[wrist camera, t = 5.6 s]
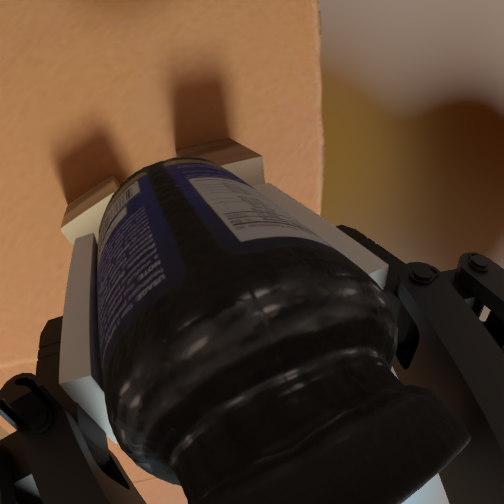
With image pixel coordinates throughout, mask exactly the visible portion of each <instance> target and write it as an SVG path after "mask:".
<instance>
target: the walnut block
mask: <svg viewBox="0 0 504 504" xmlns="http://www.w3.org/2000/svg"><path fill="white" fill-rule="evenodd" d="M176 155H177V158H179V157H183V158H186V157H190V158H203V159H206V160H210V161H212V162H214V163H216V164H218V165H219V166H221V167H223V168H225V169H227V170H228V171H230V172H231V173H233V174H234V175H236V176H237V177H239V178H240V179H242V180H243V181H244V182H246V183H247V184H249V185H250V186H256V185H260V184H264V183H265V179H264V169H263V158H262V156H261V155H259V154H258V153H256V152H254V151H252V150H250V149H248V148H247V147H245V146H243V145H241V144H239V143H237V142H235V141H234V140H232V139H230V138H229V139H225V140H220V141H216V142H211V143H207V144H203V145H198V146H194V147H190V148H186V149H182V150H178V151H176Z"/></svg>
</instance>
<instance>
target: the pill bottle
mask: <svg viewBox="0 0 504 504" xmlns="http://www.w3.org/2000/svg"><path fill="white" fill-rule="evenodd" d="M97 271H98V275H97V296H98V327H99V343H100V357H101V369H102V377H103V387H104V396H105V404H106V410H107V415H108V420H109V424H110V426H111V428H112V432H113V434H114V436H115V438H116V440H117V442H118V443H119V445H120V447H121V449H122V450H123V451H124V452H125V453H126V454H127V455H128V456H129V457H130V458H131V459H132V460H133V461H134V462H135V464H136V465H137V466H138V467H140V468H141V469H143V470H145V471H146V472H148V473H149V474H152V475H154V476H155V477H157V478H159V479H162V480H164V481H166V482H169V483H171V484H177V485H180V486H182V488H183V491H184V494H185V496H186V497H187V499H188V504H401V503H403V502H404V501H405V500H406V499H407V498H408V497H410V496H411V495H412V494H414V493H415V492H416V491H417V490H419V489H420V488H421V487H422V486H423V485H424V484H425V483H426V482H428V481H429V480H430V479H431V478H433V477H434V476H435V475H436V474H437V473H439V472H440V471H441V470H442V469H443V468H445V467H446V466H447V465H448V464H449V463H450V462H451V461H452V460H453V459H454V458H455V457H456V456H457V455H458V454H459V453H460V452H461V451H462V450H463V449H464V448H465V447H466V445H467V444H468V443H469V442H470V439H471V435H470V433H469V432H468V431H467V429H466V428H465V427H464V425H463V424H462V422H461V421H460V420H459V419H458V418H457V417H456V416H455V415H454V414H453V413H452V412H451V411H450V410H449V409H448V408H447V407H446V406H445V404H444V403H443V402H442V401H441V399H440V398H439V397H438V396H437V394H436V393H435V392H434V391H433V390H431V389H426V388H422V387H419V386H416V385H404V384H402V383H401V382H400V381H399V380H398V379H397V377H396V376H394V374H393V373H392V372H391V367H392V365H393V363H394V358H395V354H396V349H397V343H398V342H397V335H398V328H397V324H396V319H395V316H394V313H393V309H392V306H391V304H390V302H389V300H388V299H387V297H386V295H385V294H384V291H383V290H382V289H381V288H380V286H379V285H378V283H377V282H376V281H374V280H373V279H372V278H371V277H370V276H369V275H368V274H367V273H366V272H365V271H363V270H362V269H361V268H360V267H359V266H357V265H356V264H355V263H353V262H352V261H351V260H350V259H348V258H347V257H346V256H345V255H343V254H342V253H340V252H339V251H338V250H336V249H335V248H334V247H332V246H331V245H330V244H328V243H327V242H326V241H325V240H323V239H322V238H320V237H319V236H318V235H317V234H315V233H314V232H313V231H311V230H310V229H309V228H307V227H306V226H305V225H303V224H302V223H301V222H299V221H298V220H297V219H295V218H294V217H293V216H291V215H290V214H289V213H287V212H286V211H285V210H283V209H282V208H281V207H279V206H278V205H277V204H275V203H274V202H272V201H271V200H270V199H268V198H267V197H266V196H264V195H263V194H261V193H260V192H258V191H257V190H256V189H254V188H253V187H252V186H250V185H249V184H247V183H246V182H244V181H243V180H242V179H240V178H239V177H237V176H236V175H234V174H233V173H231V172H230V171H228V170H227V169H225V168H223V167H221V166H219V165H218V164H216V163H214V162H212V161H210V160H206V159H203V158H190V157H186V158H183V157H179V158H172V159H168V160H165V161H160V162H157V163H155V164H153V165H150V166H147V167H144V168H142V169H141V170H139V171H137V172H135V173H134V174H133V175H132V176H130V177H129V178H128V179H127V180H126V181H125V182H124V183H122V185H121V186H120V187H119V189H118V190H117V191H116V192H115V193H114V194H113V195H112V197H111V199H110V201H109V203H108V205H107V207H106V209H105V212H104V215H103V217H102V220H101V224H100V227H99V239H98V267H97Z"/></svg>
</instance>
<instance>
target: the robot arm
mask: <svg viewBox="0 0 504 504" xmlns="http://www.w3.org/2000/svg"><path fill="white" fill-rule="evenodd" d="M252 187H253V188H254V189H256V190H257V191H258V192H260V193H261V194H263V195H264V196H266V197H267V198H268V199H270V200H271V201H272V202H274V203H275V204H277V205H278V206H279V207H281V208H282V209H283V210H285V211H286V212H287V213H289V214H290V215H291V216H293V217H294V218H295V219H297V220H298V221H299V222H301V223H302V224H303V225H305V226H306V227H307V228H309V229H310V230H311V231H313V232H314V233H315V234H317V235H318V236H319V237H320V238H322V239H323V240H325V241H326V242H327V243H328V244H330V245H331V246H332V247H334V248H335V249H336V250H338V251H339V252H340V253H342V254H343V255H345V256H346V257H347V258H348V259H350V260H351V261H352V262H353V263H355V264H356V265H357V266H359V267H360V268H361V269H362V270H363V271H365V272H366V273H367V274H368V275H369V276H370V277H371V278H372V279H373V280H374V281H376V282H377V283H378V285H379V286H380V288H381V289H382V290H383V291H384V294H385V295H386V297H387V299H388V300H389V302H390V304H391V306H392V309H393V313H394V316H395V319H396V324H397V328H398V335H397V342H398V343H397V349H396V354H395V358H394V363H393V365H392V366H393V368H394V371H395V372H396V375H397V377H398V379H399V381H400V382H401V383H402V384H404V385H416V386H419V387H422V388H426V389H431V390H433V391H434V392H435V393H436V394H437V396H438V397H439V398H440V399H441V401H442V402H443V403H444V404H445V406H446V407H447V408H448V409H449V410H450V411H451V412H452V413H453V414H454V415H455V416H456V417H457V418H458V419H459V420H460V421H461V422H462V424H463V425H464V427H465V428H466V429H467V431H468V432H469V433H470V435H471V439H470V442H469V443H468V444H467V445H466V447H465V448H464V449H463V450H462V451H461V452H460V453H459V454H458V455H457V456H456V457H455V458H454V459H453V460H452V461H451V462H450V463H449V464H448V465H447V466H446V467H445V468H443V469H442V470H441V471H440V472H439V476H440V478H441V481H442V483H443V486H444V489H445V492H446V495H447V498H448V500H449V503H450V504H504V269H503V268H501V267H500V266H499V265H497V264H496V263H494V262H493V261H492V260H490V259H489V258H487V257H485V256H483V255H481V254H478V253H473V252H472V253H470V252H469V253H465V254H462V255H461V256H460V258H459V261H458V265H457V268H456V269H453V270H448V271H443V272H440V271H439V270H438V269H437V268H435V267H433V266H431V265H429V264H426V263H421V262H411V263H408V264H405V263H404V262H402V261H401V260H399V259H398V258H397V257H395V256H394V255H392V254H391V253H389V252H388V251H386V250H385V249H384V248H382V247H381V246H379V245H378V244H375V242H374V241H372V240H371V239H369V238H367V237H366V236H365V235H363V234H362V233H360V232H359V231H357V230H356V229H353V228H350V227H347V226H344V225H339V226H336V227H335V226H334V225H332V224H331V223H329V222H328V221H326V220H325V219H323V218H322V217H320V216H319V215H317V214H316V213H314V212H313V211H311V210H310V209H308V208H307V207H305V206H304V205H302V204H301V203H299V202H298V201H296V200H295V199H293V198H292V197H290V196H289V195H287V194H286V193H284V192H283V191H281V190H280V189H278V188H276V187H275V186H273V185H272V184H270V183H269V182H268V183H264V184H260V185H256V186H252ZM97 267H98V243H97V240H96V237H95V235H94V233H91V234H88V235H85V236H82V237H79V238H76V239H75V242H74V247H73V253H72V258H71V264H70V269H69V276H68V282H67V289H66V296H65V304H64V313H63V316H61V317H58V318H54V319H51V320H48V322H47V323H46V325H45V327H44V329H43V331H42V332H41V335H40V342H39V349H40V350H38V361H37V367H36V376H35V375H34V374H32V373H21V374H19V375H16V376H14V377H12V378H11V379H10V380H8V381H7V382H6V383H5V384H4V386H3V387H2V388H1V390H0V415H1V416H2V417H3V418H4V419H5V420H6V421H7V422H8V423H10V424H11V425H12V426H13V427H14V428H15V429H16V430H17V431H15V432H14V433H12V434H10V435H8V436H7V437H5V438H4V439H1V440H0V504H146V502H145V501H144V500H143V498H142V497H141V495H140V494H139V492H138V491H137V489H136V488H135V486H134V485H133V483H132V482H131V480H130V479H129V477H128V475H127V474H126V472H125V471H124V469H123V467H122V466H121V464H120V462H119V461H118V459H117V457H116V456H115V455H114V454H113V453H112V452H111V451H110V450H109V449H108V444H107V438H106V435H107V436H108V437H109V438H110V439H111V440H112V441H113V442H114V443H118V442H117V440H116V438H115V436H114V434H113V432H112V428H111V426H110V424H109V420H108V415H107V410H106V404H105V396H104V387H103V377H102V369H101V357H100V343H99V327H98V296H97V275H98V271H97ZM484 305H485V306H486V307H488V308H489V309H490V310H491V311H490V313H489V315H488V318H487V320H486V321H485V322H483V321H480V320H479V317H480V315H481V312H482V310H483V307H484Z"/></svg>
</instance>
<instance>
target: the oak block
mask: <svg viewBox="0 0 504 504" xmlns="http://www.w3.org/2000/svg"><path fill="white" fill-rule="evenodd" d="M119 187H120V184H119V182H118V181H117V179H116V178H115V176H114V174H113V175H112V176H110V177H108V178H107V179H105V180H104V181H102V182H101V183H99V184H98V185H96V186H95V187H93V188H92V189H90V190H89V191H87V192H86V193H84V194H83V195H81V196H80V197H78V198H77V199H75V200H74V201H73V202H71V203H70V204H68V206H67V209H66V212H65V215H64V218H63V221H62V224H61V228H60V230H61V231H62V232H63V234H64V235H65V236H66V238H67V239H68V240H69V241H70V243H71V244H72V245H73V247H74V242H75V239H76V238H79V237H82V236H85V235H88V234H91V233H94V235H95V237H96V240H97V243H98V239H99V227H100V224H101V220H102V217H103V215H104V212H105V209H106V207H107V205H108V203H109V201H110V199H111V197H112V195H113V194H114V193H115V192H116V191H117V190H118V189H119Z"/></svg>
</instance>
